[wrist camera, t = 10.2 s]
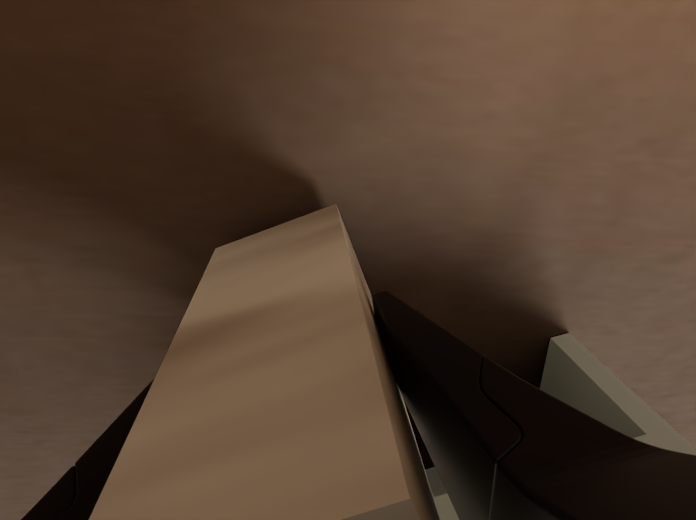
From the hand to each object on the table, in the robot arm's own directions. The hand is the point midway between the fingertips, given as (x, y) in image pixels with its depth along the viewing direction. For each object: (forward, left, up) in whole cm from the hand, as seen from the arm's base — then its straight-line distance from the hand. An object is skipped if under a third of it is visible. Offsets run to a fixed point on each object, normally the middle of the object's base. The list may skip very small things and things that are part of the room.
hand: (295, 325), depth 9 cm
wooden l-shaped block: (-6, -1, -3) cm, 7 cm away
